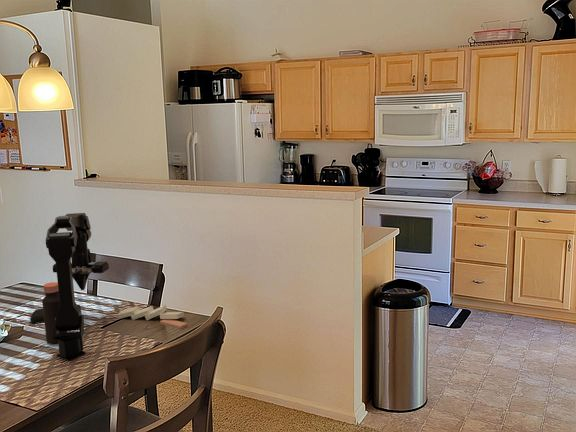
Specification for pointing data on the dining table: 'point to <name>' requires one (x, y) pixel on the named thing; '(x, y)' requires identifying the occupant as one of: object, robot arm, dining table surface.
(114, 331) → the dining table surface
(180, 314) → the ivory domino
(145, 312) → the ivory domino
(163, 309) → the ivory domino
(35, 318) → the carrying case or bag
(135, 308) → the ivory domino
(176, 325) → the terracotta domino
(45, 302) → the bottle
